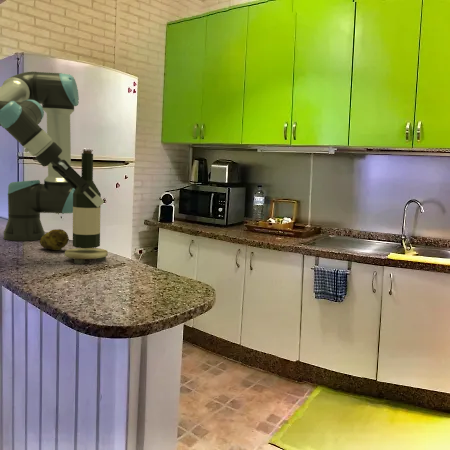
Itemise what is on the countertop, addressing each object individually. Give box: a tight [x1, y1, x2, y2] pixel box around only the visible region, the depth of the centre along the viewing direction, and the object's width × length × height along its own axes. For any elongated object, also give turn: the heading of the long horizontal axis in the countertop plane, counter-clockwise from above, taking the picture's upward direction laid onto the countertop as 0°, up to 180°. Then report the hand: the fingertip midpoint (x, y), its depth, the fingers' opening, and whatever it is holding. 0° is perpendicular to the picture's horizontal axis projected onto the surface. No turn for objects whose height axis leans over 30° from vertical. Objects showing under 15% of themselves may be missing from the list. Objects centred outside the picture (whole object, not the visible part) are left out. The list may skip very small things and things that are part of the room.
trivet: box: [64, 247, 108, 265], centre depth 146 cm, size 13×13×3 cm
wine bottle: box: [72, 150, 102, 248], centre depth 144 cm, size 8×8×30 cm
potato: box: [39, 228, 69, 251], centre depth 160 cm, size 8×13×8 cm, turn 31°
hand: (97, 203), depth 146 cm, fingers closed on wine bottle, 8 cm apart
